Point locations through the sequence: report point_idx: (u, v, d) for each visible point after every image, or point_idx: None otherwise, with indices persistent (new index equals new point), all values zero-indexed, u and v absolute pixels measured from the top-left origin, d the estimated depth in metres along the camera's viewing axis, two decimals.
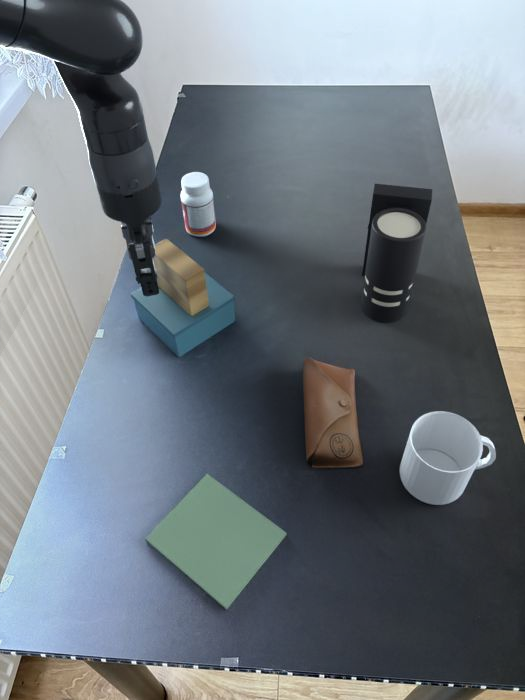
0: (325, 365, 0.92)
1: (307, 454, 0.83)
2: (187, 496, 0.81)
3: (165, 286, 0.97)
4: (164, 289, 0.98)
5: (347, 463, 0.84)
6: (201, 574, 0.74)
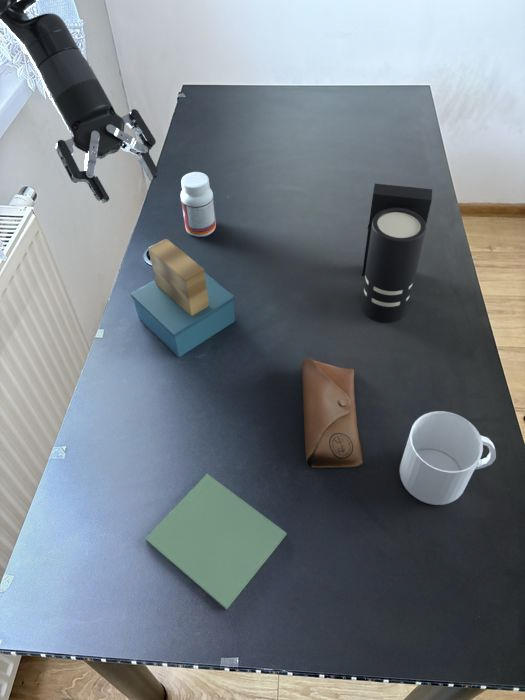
0: (324, 365, 0.92)
1: (307, 454, 0.83)
2: (187, 496, 0.81)
3: (165, 286, 0.97)
4: (164, 289, 0.98)
5: (347, 463, 0.84)
6: (201, 574, 0.74)
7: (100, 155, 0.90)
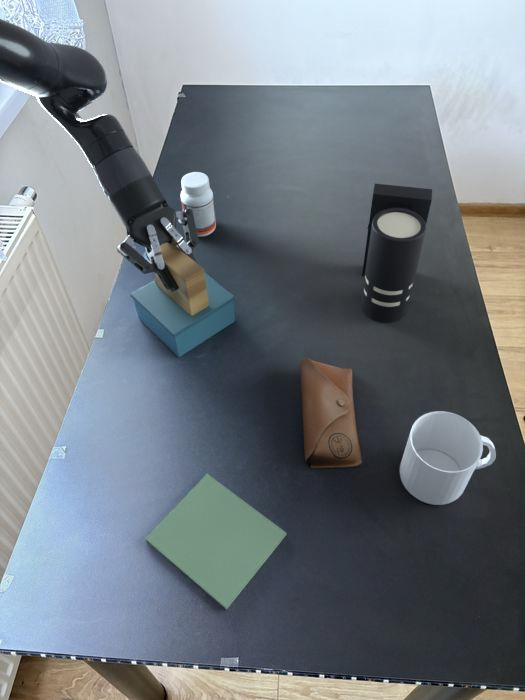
0: (322, 365, 0.92)
1: (306, 454, 0.83)
2: (187, 496, 0.81)
3: None
4: (164, 289, 0.98)
5: (346, 463, 0.84)
6: (201, 574, 0.74)
7: (154, 247, 0.92)
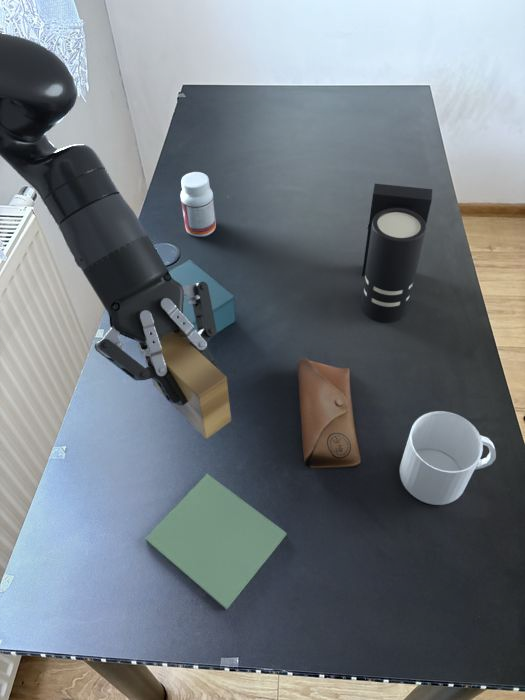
0: (320, 365, 0.92)
1: (305, 455, 0.83)
2: (187, 496, 0.81)
3: None
4: None
5: (345, 463, 0.84)
6: (201, 574, 0.74)
7: None
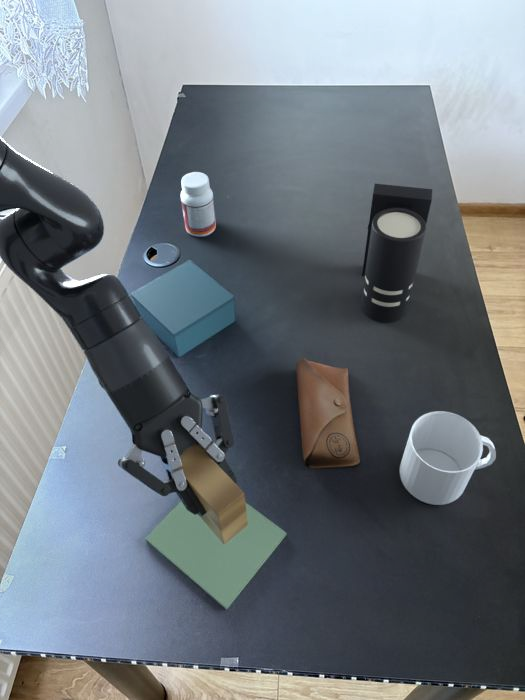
0: (318, 365, 0.92)
1: (304, 455, 0.83)
2: None
3: None
4: None
5: (344, 463, 0.84)
6: (201, 574, 0.74)
7: None
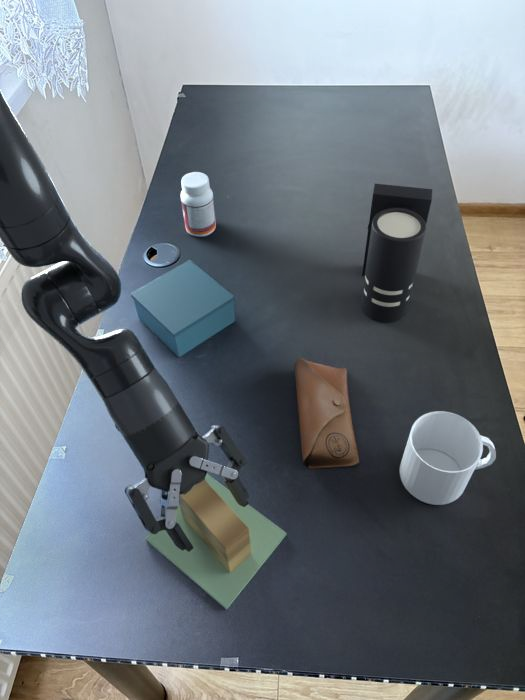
0: (317, 365, 0.92)
1: (304, 455, 0.83)
2: None
3: (195, 528, 0.76)
4: (194, 528, 0.77)
5: (344, 462, 0.84)
6: (201, 574, 0.74)
7: (181, 493, 0.70)
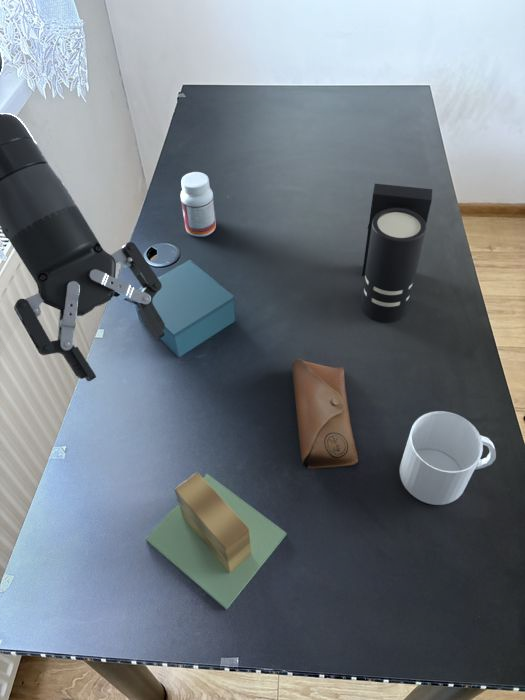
0: (314, 365, 0.92)
1: (302, 455, 0.83)
2: None
3: (195, 528, 0.76)
4: (194, 528, 0.77)
5: (343, 462, 0.84)
6: (201, 574, 0.74)
7: (81, 314, 0.61)
